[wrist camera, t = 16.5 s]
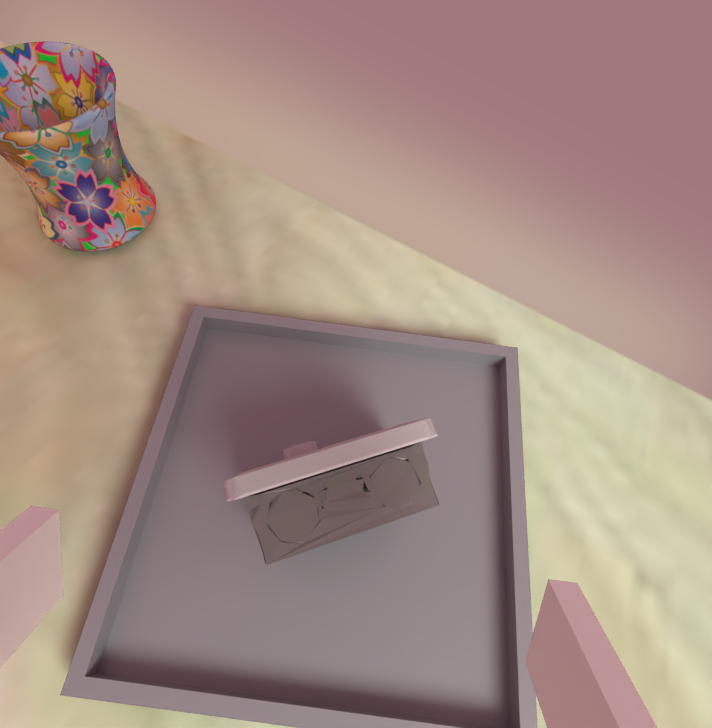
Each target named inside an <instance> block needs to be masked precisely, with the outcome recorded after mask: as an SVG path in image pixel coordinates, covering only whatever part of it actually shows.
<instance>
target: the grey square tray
mask: <svg viewBox="0 0 712 728" xmlns="http://www.w3.org/2000/svg"><path fill="white" fill-rule="evenodd" d="M427 418H431V421H432V423H433V426H434V428H435V431H436V433H437V435H438V436H436V437H434V438H431V439H427V440H424V441H422V445H423V449H424V454H425V456H426V459H427V462H428V465H429V474H430V479H431V482H432V485H433V488H434V491H435V494H436V497H437V500H438V503H439V506H436V507H433V508H430V509H427V510H424V511H421V512H418V513H415V514H413V515H410V516H407V517H404V518H401V519H398V520H395V521H392V522H390V523H387V524H384V525H381V526H378V527H375V528H372V529H369V530H366V531H364V532H361V533H358V534H355V535H352V536H349V537H346V538H343V539H341V540H338V541H335V542H332V543H329V544H326V545H323V546H320V547H318V548H315V549H312V550H309V551H306V552H303V553H300V554H297V555H294V556H292V557H289V558H286V559H283V560H280V561H277V562H274V563H271V564H269V565H267V563H266V564H265V561H264V557H263V553H262V549H261V546H260V544H259V541H258V538H257V535H256V533H255V530H254V527H253V524H252V520H251V515H250V510H249V506H248V502H247V499H246V497H243V498H240V499H237V500H234V501H227V500H226V495H225V490H224V484H223V481H225V480H227V479H229V478H231V477H234V476H236V475H238V474H240V473H242V472H245V471H248V470H252V469H255V468H258V467H262V466H265V465H268V464H271V463H275V462H278V461H281V460H285V459H284V453H283V450H285V449H287V448H289V447H291V446H294V445H298V444H301V443H305V442H309V441H315V442H316V445H317V448H318V449H321V448H323V447H327V446H330V445H333V444H336V443H339V442H342V441H345V440H349V439H352V438H355V437H359V436H362V435H367V434H370V433H373V432H377V431H380V430H383V429H386V428H390V427H393V426H396V425H400V424H403V423H406V422H410V421H416V420H421V419H427ZM412 503H413V502H412ZM412 503H411V504H410V505H412ZM386 507H388V506H386ZM277 539H278V538H277ZM278 540H279V539H278ZM295 543H302V544H303V542H295ZM532 635H533V633H532V614H531V595H530V576H529V557H528V538H527V519H526V500H525V481H524V462H523V443H522V424H521V405H520V386H519V367H518V348H516V347H508V346H501V345H493V344H485V343H478V342H470V341H463V340H455V339H448V338H440V337H432V336H425V335H417V334H410V333H402V332H394V331H387V330H379V329H372V328H364V327H357V326H349V325H341V324H334V323H326V322H319V321H311V320H303V319H296V318H288V317H281V316H273V315H266V314H258V313H250V312H243V311H235V310H228V309H220V308H212V307H205V306H197V305H195V306H194V309H193V312H192V315H191V318H190V321H189V324H188V326H187V329H186V332H185V335H184V338H183V341H182V344H181V347H180V350H179V352H178V355H177V358H176V361H175V364H174V367H173V370H172V373H171V376H170V379H169V381H168V384H167V387H166V390H165V393H164V396H163V399H162V402H161V405H160V407H159V410H158V413H157V416H156V419H155V422H154V425H153V428H152V431H151V434H150V436H149V439H148V442H147V445H146V448H145V451H144V454H143V457H142V460H141V462H140V465H139V468H138V471H137V474H136V477H135V480H134V483H133V486H132V489H131V491H130V494H129V497H128V500H127V503H126V506H125V509H124V512H123V515H122V518H121V520H120V523H119V526H118V529H117V532H116V535H115V538H114V541H113V544H112V546H111V549H110V552H109V555H108V558H107V561H106V564H105V567H104V570H103V573H102V575H101V578H100V581H99V584H98V587H97V590H96V593H95V596H94V599H93V601H92V604H91V607H90V610H89V613H88V616H87V619H86V622H85V625H84V628H83V630H82V633H81V636H80V639H79V642H78V645H77V648H76V651H75V654H74V656H73V659H72V662H71V665H70V668H69V671H68V674H67V677H66V680H65V683H64V685H63V688H62V691H61V694H60V695H63V696H70V697H78V698H85V699H92V700H100V701H107V702H114V703H122V704H129V705H136V706H143V707H151V708H158V709H165V710H173V711H180V712H187V713H195V714H202V715H209V716H217V717H224V718H231V719H239V720H246V721H253V722H261V723H268V724H275V725H283V726H290V727H297V728H537V709H536V692H535V689H534V686H533V683H532V680H531V677H530V674H529V671H528V668H527V665H526V662H525V660H526V656H527V653H528V649H529V646H530V642H531V639H532Z"/></svg>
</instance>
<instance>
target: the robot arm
mask: <svg viewBox="0 0 712 728" xmlns="http://www.w3.org/2000/svg"><path fill="white" fill-rule="evenodd" d="M62 596H63V576H62V556H61V537H60V518H59V510H54V509H47V508H40V507H33V506H31V507H29V508H28V509H27V510H26V511H24V512H23V513H22V514H21V515H19V516H18V517H17V518H16V519H14V520H13V521H12V522H10V523H9V524H8V525H7V526H5V527H4V528H3V529H2V530H0V668H1V667H2V665H3V664H4V663H5V662H6V661H7V660H8V658H9V657H10V656H11V655H12V654H13V653H14V651H15V650H16V649H17V648H18V647H19V646H20V645H21V643H22V642H23V641H24V640H25V639H26V638H27V636H28V635H29V634H30V633H31V632H32V631H33V629H34V628H35V627H36V626H37V625H38V624H39V623H40V621H41V620H42V619H43V618H44V617H45V616H46V614H47V613H48V612H49V611H50V610H51V609H52V608H53V606H54V605H55V604H56V603H57V602H58V601H59V599H60V598H61V597H62ZM525 662H526V665H527V668H528V671H529V674H530V677H531V680H532V683H533V686H534V689H535V692H536V695H537V698H538V701H539V704H540V707H541V710H542V713H543V716H544V719H545V722H546V725H547V728H657V726H656V725H655V723H654V721H653V719H652V717H651V715H650V714H649V712H648V710H647V708H646V706H645V705H644V703H643V701H642V699H641V697H640V696H639V694H638V692H637V690H636V688H635V687H634V685H633V683H632V681H631V679H630V677H629V676H628V674H627V672H626V670H625V668H624V667H623V665H622V663H621V661H620V659H619V658H618V656H617V654H616V652H615V650H614V649H613V647H612V645H611V643H610V641H609V639H608V638H607V636H606V634H605V632H604V630H603V629H602V627H601V625H600V623H599V621H598V620H597V618H596V616H595V614H594V612H593V611H592V609H591V607H590V605H589V603H588V601H587V600H586V598H585V596H584V594H583V592H582V591H581V589H580V587H579V585H578V583H572V582H565V581H558V580H550V579H548V583H547V586H546V590H545V593H544V597H543V600H542V604H541V607H540V611H539V614H538V618H537V621H536V625H535V628H534V632H533V635H532V639H531V642H530V646H529V649H528V653H527V656H526V660H525Z"/></svg>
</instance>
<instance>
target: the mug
mask: <svg viewBox="0 0 712 728" xmlns="http://www.w3.org/2000/svg"><path fill="white" fill-rule="evenodd" d="M115 90H116V78H115V74H114V72H113V70H112V68H111V66H110V65H109V63H108V62H107V61H106V60H105V59H104V58H102V57H101V56H100V55H99V54H97V53H95V52H93V51H91V50H89V49H87V48H84V47H81V46H77V45H74V44H69V43H62V42H31V43H23V44H17V45H13V46H8V47H5V48H1V49H0V154H1V155H2V156H3V157H4V158H5V159H6V160H7V161H8V162H9V163H10V164H11V165H12V166H13V167H14V168H15V169H16V171H17V172H18V173H19V174H20V175H21V177H22V178H23V179H24V181H25V182H26V183H27V185H28V186H29V188H30V190H31V192H32V194H33V195H34V198H35V200H36V203H37V206H38V218H39V223H40V226H41V229H42V230H43V232H44V233H45V235H46V236H47V237H48V238H50V239H51V240H52V241H53V242H55V243H56V244H58V245H60V246H63V247H65V248H68V249H72V250H77V251H101V250H107V249H111V248H114V247H117V246H120V245H122V244H124V243H127V242H128V241H130V240H132V239H133V238H135V237H136V236H138V235H139V234H140V233H141V232H142V231H143V230H144V229H145V228H146V227H147V226H148V224H149V223H150V221H151V220H152V218H153V215H154V213H155V208H156V200H155V195H154V192H153V190H152V189H151V187H150V186H149V185H148V183H147V182H146V181H145V180H143V179H142V178H141V177H140V176H138V175H137V173H136V172H135V171H134V170H133V168H132V167H131V165H130V164H129V162H128V160H127V158H126V156H125V154H124V151H123V149H122V146H121V143H120V139H119V136H118V131H117V125H116V118H115Z"/></svg>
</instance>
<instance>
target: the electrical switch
mask: <svg viewBox="0 0 712 728" xmlns="http://www.w3.org/2000/svg"><path fill="white" fill-rule="evenodd" d="M436 436H438V435H437V433H436V431H435V428H434V426H433V423H432V421H431V418H427V419H421V420H416V421H410V422H406V423H403V424H400V425H396V426H393V427H390V428H386V429H383V430H380V431H377V432H373V433H370V434H367V435H362V436H359V437H355V438H352V439H349V440H345V441H342V442H339V443H336V444H333V445H330V446H327V447H323V448H321V449H318V448H317V445H316V442H315V441H309V442H305V443H301V444H298V445H294V446H291V447H289V448H287V449H285V450H283V453H284V459H285V460H281V461H278V462H275V463H271V464H268V465H265V466H262V467H258V468H255V469H252V470H248V471H245V472H242V473H240V474H238V475H236V476H234V477H231V478H229V479H227V480H225V481H223V484H224V490H225V495H226V500H227V501H234V500H237V499H240V498H243V497H246V499H247V502H248V506H249V510H250V515H251V520H252V524H253V527H254V530H255V533H256V535H257V538H258V541H259V544H260V546H261V549H262V553H263V557H264V561H265V564H266V563H267V565H269V564H271V563H274V562H277V561H280V560H283V559H286V558H289V557H292V556H294V555H297V554H300V553H303V552H306V551H309V550H312V549H315V548H318V547H320V546H323V545H326V544H329V543H332V542H335V541H338V540H341V539H343V538H346V537H349V536H352V535H355V534H358V533H361V532H364V531H366V530H369V529H372V528H375V527H378V526H381V525H384V524H387V523H390V522H392V521H395V520H398V519H401V518H404V517H407V516H410V515H413V514H415V513H418V512H421V511H424V510H427V509H430V508H433V507H436V506H439V503H438V500H437V497H436V494H435V491H434V488H433V485H432V482H431V479H430V474H429V465H428V462H427V459H426V456H425V454H424V449H423V445H422V441H424V440H427V439H431V438H434V437H436ZM412 502H413V503H412ZM411 503H412V505H410V504H411ZM386 506H388V507H386ZM277 538H278V539H279V540H278V539H277ZM295 542H303V544H302V543H295Z"/></svg>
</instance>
